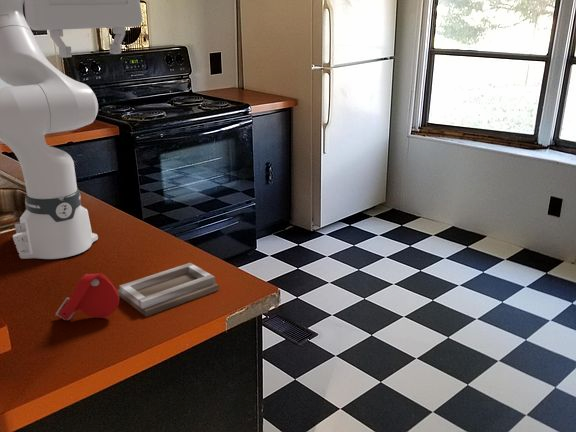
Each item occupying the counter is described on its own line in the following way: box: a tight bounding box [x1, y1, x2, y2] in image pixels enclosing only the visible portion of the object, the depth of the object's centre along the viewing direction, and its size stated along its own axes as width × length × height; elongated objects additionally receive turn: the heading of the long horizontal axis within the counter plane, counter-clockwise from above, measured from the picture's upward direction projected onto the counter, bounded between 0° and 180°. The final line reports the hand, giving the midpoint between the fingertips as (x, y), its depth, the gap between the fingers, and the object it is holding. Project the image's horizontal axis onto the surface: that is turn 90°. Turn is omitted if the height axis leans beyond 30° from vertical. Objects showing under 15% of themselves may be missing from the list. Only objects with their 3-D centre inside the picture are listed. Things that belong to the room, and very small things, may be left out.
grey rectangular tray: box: [116, 262, 220, 318], centre depth 125 cm, size 12×17×3 cm
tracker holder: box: [55, 273, 120, 321], centre depth 113 cm, size 12×4×10 cm, turn 92°
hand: (91, 55), depth 107 cm, fingers open, 8 cm apart
